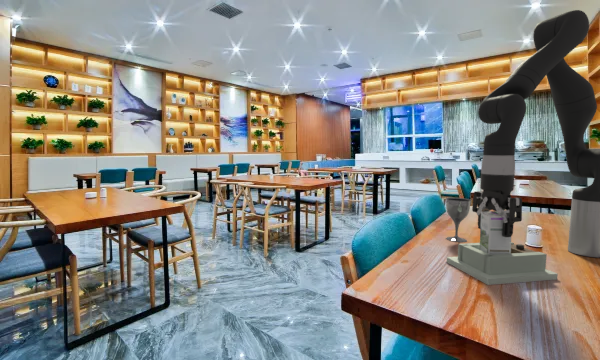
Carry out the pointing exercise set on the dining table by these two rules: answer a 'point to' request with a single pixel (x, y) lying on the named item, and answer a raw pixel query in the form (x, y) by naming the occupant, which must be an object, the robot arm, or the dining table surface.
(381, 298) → the dining table surface
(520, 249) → the clamp block
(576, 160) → the robot arm
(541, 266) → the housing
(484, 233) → the syrup box
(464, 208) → the wine glass
